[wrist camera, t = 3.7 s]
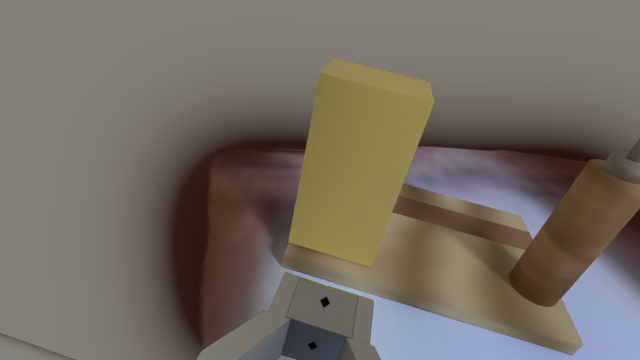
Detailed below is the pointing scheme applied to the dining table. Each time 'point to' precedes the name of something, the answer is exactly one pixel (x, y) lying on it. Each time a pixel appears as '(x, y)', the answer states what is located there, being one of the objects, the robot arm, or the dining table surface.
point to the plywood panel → (449, 268)
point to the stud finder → (357, 158)
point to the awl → (579, 227)
